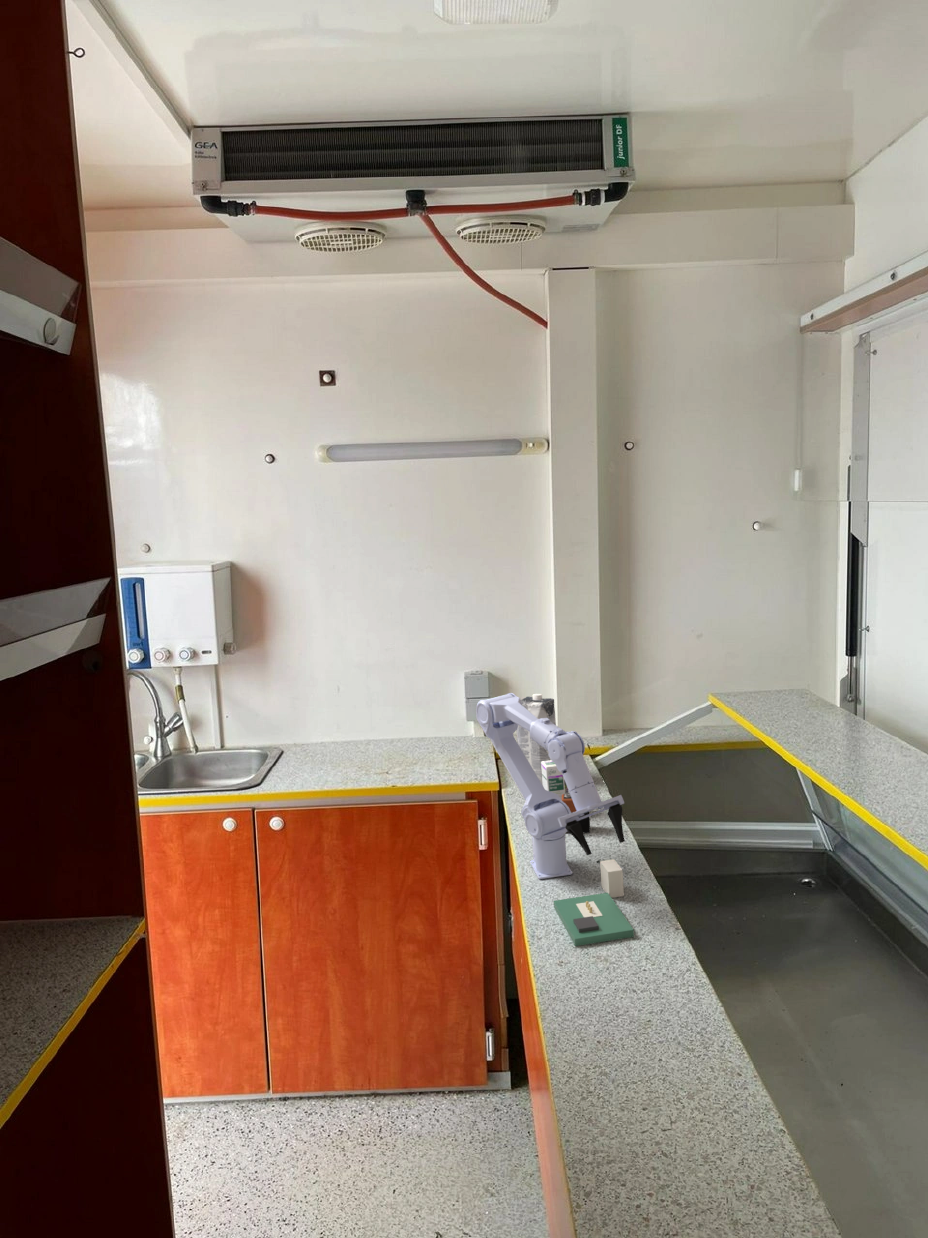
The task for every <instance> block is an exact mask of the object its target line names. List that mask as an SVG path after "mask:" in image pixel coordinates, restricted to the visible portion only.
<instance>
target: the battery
mask: <svg viewBox="0 0 928 1238" xmlns="http://www.w3.org/2000/svg"><path fill="white" fill-rule="evenodd" d="M562 801H563V802H564V803H565V804H566V805H567V806H568V807H569V809H570V811H571V813H573V812H576V811H577V810H576V808H575V805H574V803H573V800H572V798H571V795H570V793H569V792H568V793H565V794H562ZM588 814H590V811H589V812H586V813H584V815H583V816H585V815H588ZM583 816H581V817H583ZM590 817H591V816H590ZM590 817H587V818H584V819H582V820H579V821H577V822H578V823H580V824H581V827H582V830H583V832H589V833H590V832H591V819H590ZM579 818H580V817H579ZM567 832H568V831H567Z"/></svg>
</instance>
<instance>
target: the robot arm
mask: <svg viewBox="0 0 928 1238" xmlns="http://www.w3.org/2000/svg"><path fill="white" fill-rule="evenodd" d="M521 700H522V699H521V697H519V696H517V695H516V694H515V693H513V692H509V693H506V694H503V695H499V696H496V697H491V698H488V699H480V700H479V701H478V702H477V704H476V708H475V709H476V710H475V711H476V713H475V715H476V717H475V718H476V720H477V722H478V724H479V726H480V727H481V729H482V731H483V732H484V734H485V737H486V738H488V739H489V740H490V742H491V745H492V747H494V749H495V751H496V753H497V754H498V756H499V758H500V759H501V761H502V763H503V764H504V766H505V769H507V771H508V774H509V775H510V777H511V779H512V780H513V782H514V783H515V785H516V787H517V788H518V791H519V793H520V794H521V795H522V797H523V800H524V801H525V802H524V804H523V806H522V808H521V811H520V812H521V813H520V814H521V816H522V819H523V821H524V826H525V828H526V830H527V832H528V834H529V835H530V836H531V842H532V853H533V854H532V855H533V859H531V860H529V864H530V863H531V864H530V866H531V865H532V866H531V867H533V868H532V869H533V871H534V873H535V875H536V877H537V878H538V879H539V880H543V879H545V880H546V879H551V878H557V877H563V876H570V875H573V871H572V869H571V868H570V866H569V864H568V863H567V846H566V844H567V843H566V834H567V833H566V832H567V831H568V832H569V833H568V834H570V835H571V836H572V837H573V838H574V839H575V840H576V841H577V843H578V844H579V845H580V847H581V848H582V849H583V851H584V853H585V854H586V856H590V855H592V851H591V848H590V846H589V844H588V842H587V839H586V836H585V834H584V833H583V830H582V827H581V824H580V823H578V822H577V821H579V820H582V819H584V818H587V817H592V816H595V815H597V814H599V813H600V814H601V813H602V812H606V811H607V816H608V818H609V820H610V823H611V824H612V825H613V829H614V831H615V834H616V836H617V839H618V842H619V843H624V842H626V839H625V836H624V831H623V806H622V805H624V804H625V801H624V798H623V796H622V794H620V795H617V796H614V797H611V798H608V799H605V800H603V801H602V799H601V796H600V793H599V792H598V789H597V787H596V785H595V781H594V779H593V777H592V773H591V772H590V769H589V767H588V765H587V761H586V760H585V757H584V754H585V751H586V749H585V748H586V747H585V743H584V740H583V738H582V736H581V735H580V734H579V733H578V732H577V731H575V730H571V731H565V730H564V729H563V728H561V727H559V726H558V725H557V724H556V725H555V724H553V723H552V722H550V720H549V719H548V718H540V719H538V718H536V717H535V716H534V715H533V714H532V713H531V712H529V711H528V710H527V709H526V708H525V707H523V706H522V703H521ZM518 725H519V726H521V727H522V728H524V729H526V730H528V731H529V732H530V737H531V739H532V740H534V741H535V742H536V743H538V744H539V745H540V746H542V747H543V748H545V749H546V750H547V751H548V752H549V754H548V755H549V757H550V759H551V760H552V761H553V762H554V763H555V765H556V766H557V769H558V770H559V771H560V772H562V775H563V777H564V780H565V782H566V785H567V788H568V793H570V795H571V798H572V800H573V803H574V805H575V808H576V810H577V811H576V812H573V813H571V811H570V809H569V807H568V806H567V805H566V804H565V803H564V802H563V801H562V800H561V799H560V797H559V796H558V794H555V793H553V792H550V791H547V790H545V789H544V787H543V785H542V783H541V782H540V780H539V778H538V777H537V775H536V773H535V772H534V770H533V768H532V767H531V765H530V763H529V762H528V760H527V758H526V757H525V755H524V753H523V752H522V750H521V748H520V747H519V745H518V743H517V739H516V738H515V736H514V733H515V732H516V730H517V728H518ZM596 809H598V810H596ZM594 810H596V811H594ZM591 811H592V812H591ZM593 811H594V812H593ZM586 812H589V814H588V815H585V816H583V815H584V813H586ZM590 812H591V813H590ZM581 816H583V817H581ZM579 817H580V818H579ZM532 862H533V863H532Z"/></svg>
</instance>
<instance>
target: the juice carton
mask: <svg viewBox="0 0 928 1238" xmlns="http://www.w3.org/2000/svg"><path fill="white" fill-rule="evenodd" d="M520 700H521V703H522V706H523V707H525V708H526V709H527V710H528V711H529V712H531V713H532V714H533V715H534V716H535V717H536V718H538V719H540V718H548V719H549V720H550V722H552V723H553V724H555V725H556V726H557V722H556V710H555V709H556V708H555V699H554V698H545V697H544V698H543V694H542V693H534V694H532V696H526V697H524V698H522V699H520ZM515 732H516V742H517V743H518V745H519V747H520V748H521V750H522V752H523V753H524V755H525V757H526V758H527V760H528V762H529V763H530V765H531V767H532V768H533V770H534V772H535V773H536V775H537V777H538V778H539V780H540V782H541V783H542V785H543V782H542V769H541V762H542V761H549V760H551V759H550V757H549V755H548V754H549V752H548V751H547V750H546V749H545V748H543V747H542V746H540V745H539V744H538V743H536V742H535V741H534V740H532V739H531V737H530V732H529V731H528V730H526V729H524V728H522V727H521V726H519V725H518V728H517V730H516V731H515Z"/></svg>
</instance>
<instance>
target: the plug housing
mask: <svg viewBox="0 0 928 1238" xmlns="http://www.w3.org/2000/svg"><path fill="white" fill-rule="evenodd" d="M599 863H600V881H601V882H600V883H601V884H600V885H601V888H602V889H603V891H604V893H608V894H609V895H610V896H611V898H612V899H613V898H621V897H624V895H625V891H624V875H623V874H624V872H623V869H622V868H621V866H620V865H619V863H618V862H617V861H616V859H613V858H612V859H607V860H600V861H599Z"/></svg>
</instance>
